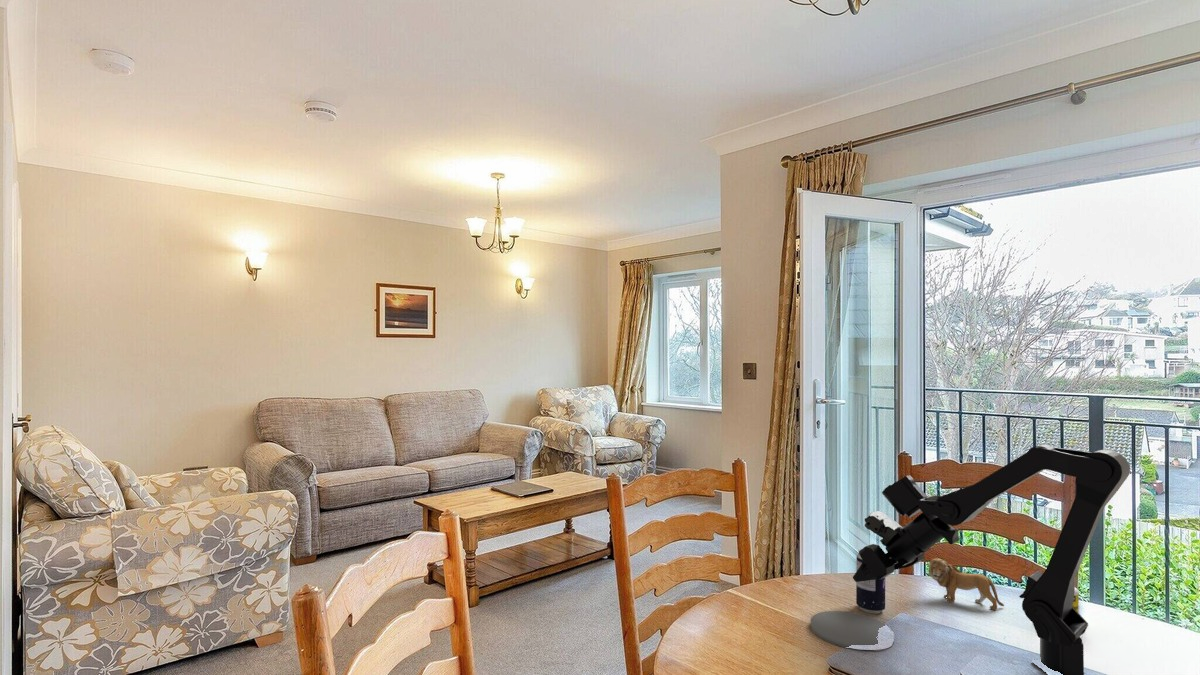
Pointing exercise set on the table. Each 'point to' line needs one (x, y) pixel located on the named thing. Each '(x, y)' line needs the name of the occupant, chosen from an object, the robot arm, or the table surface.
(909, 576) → the table surface
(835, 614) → the gray smooth stone
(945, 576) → the lion figurine
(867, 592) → the beverage can
